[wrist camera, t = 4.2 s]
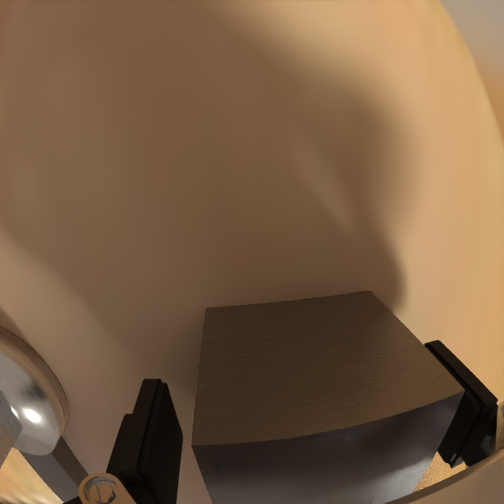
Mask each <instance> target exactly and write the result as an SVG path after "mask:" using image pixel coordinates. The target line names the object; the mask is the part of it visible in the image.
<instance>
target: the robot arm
mask: <svg viewBox="0 0 504 504" xmlns="http://www.w3.org/2000/svg"><path fill="white" fill-rule="evenodd" d="M424 346H425V347H426V348H427V349H428V350H429V351H430V352H431V353H432V354H433V356H434V357H435V358H436V359H437V360H438V361H439V362H440V363H441V364H442V365H443V366H444V367H445V368H446V370H447V371H448V372H449V373H450V374H451V375H452V376H453V377H454V378H455V379H456V381H457V382H458V383H459V384H460V385H461V386H462V387H463V388H464V389H465V392H464V394H463V397H462V399H461V401H460V404H459V406H458V408H457V411H456V413H455V415H454V417H453V419H452V422H451V424H450V426H449V428H448V430H447V432H446V434H445V436H444V438H443V440H442V442H441V444H440V446H439V448H438V450H437V451H438V453H439V454H440V456H441V457H442V459H443V461H444V462H445V463H449V465H450V467H451V468H453V467H455V466H457V465H459V464H461V463H463V461H464V462H465V464H466V467H465V470H463V471H461V472H459V473H457V474H455V475H453V476H451V477H449V478H447V479H445V480H442V481H440V482H438V483H436V484H433V485H431V486H429V487H427V488H424V489H422V490H419V491H417V492H414V493H412V494H409V495H406V496H404V497H401V498H398V499H396V500H393V501H390V502H387V503H384V504H504V401H503V402H502V403H500V405H499V406H498V405H497V404H496V403H497V401H498V399H497V398H496V397H495V396H494V395H493V394H492V393H491V392H490V391H489V390H488V389H487V388H486V386H485V385H484V384H483V383H482V382H481V381H480V380H479V379H478V378H477V377H476V376H475V375H474V374H473V373H472V372H471V371H470V370H469V369H468V368H467V367H466V366H465V365H464V364H463V363H462V362H461V361H460V360H459V359H458V358H457V357H456V356H455V355H454V354H453V353H452V352H451V351H450V350H449V349H448V348H447V347H446V346H445V345H444V344H443V343H442V342H441V341H439V340H436V341H432V342H428V343H425V344H424ZM182 444H183V434H182V430H181V427H180V424H179V421H178V418H177V415H176V412H175V409H174V406H173V402H172V399H171V396H170V392H169V389H168V386H167V383H162V381H161V379H144V380H143V382H142V385H141V388H140V391H139V395H138V398H137V401H136V404H135V407H134V410H133V413H132V414H126V415H125V416H124V418H123V420H122V423H121V426H120V429H119V432H118V435H117V438H116V441H115V445H114V448H113V451H112V454H111V457H110V461H109V464H108V467H107V471H106V473H104V472H102V473H94V474H91V475H89V476H87V477H86V478H85V479H84V480H83V481H82V482H81V484H80V486H79V496H77V497H75V498H73V499H71V500H69V501H67V502H65V503H63V504H176V501H177V491H178V481H179V471H180V461H181V452H182Z"/></svg>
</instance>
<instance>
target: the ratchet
mask: <svg viewBox="0 0 504 504" xmlns="http://www.w3.org/2000/svg"><path fill="white" fill-rule="evenodd" d="M68 418H69V405H68V401H67V398H66V396H65V393H64V391H63V389H62V387H61V385H60V383H59V382H58V380H57V379H56V377H55V375H54V374H53V373H52V371H51V370H50V369H49V367H48V366H47V365H46V364H45V362H44V361H43V360H42V359H41V358H40V357H39V356H38V355H37V354H36V353H35V352H34V351H33V350H32V349H31V348H30V347H29V346H28V345H27V344H25V343H24V342H23V341H22V340H21V339H19V338H18V337H16V336H15V335H14V334H12V333H10V332H9V331H7V330H5V329H3V328H1V327H0V468H1V466H2V465H3V463H4V461H5V459H6V457H7V455H8V454H9V452H10V450H11V448H12V447H14V448H16V449H18V450H19V451H20V452H21V454H22V455H23V456H24V458H25V459H26V460H27V461H28V463H29V464H30V465H31V466H32V468H33V469H34V470H35V471H36V472H37V474H38V475H39V476H40V477H41V478H42V479H43V481H44V482H45V483H46V484H47V485H48V486H49V487H50V488H51V490H52V491H53V492H54V493H55V494H56V495H57V496H58V497H59V498H60V499H61V500H62V501H63V502H64V503H65V502H67V501H69V500H71V499H73V498H75V497H77V496H79V486H80V484H81V482H82V481H83V480H84V479H85V478H86V477H87V476H89V475H88V474H87V473H86V472H85V470H84V469H83V467H82V466H81V465H80V463H79V462H78V461H77V459H76V458H75V456H74V455H73V453H72V452H71V450H70V449H69V447H68V446H67V444H66V443H65V441H64V440H63V438H62V437H61V433H62V431H63V429H64V427H65V425H66V423H67V421H68Z"/></svg>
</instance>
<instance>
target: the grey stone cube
mask: <svg viewBox="0 0 504 504" xmlns="http://www.w3.org/2000/svg"><path fill="white" fill-rule="evenodd" d="M464 392H465V389H464V388H463V387H462V386H461V385H460V384H459V383H458V382H457V381H456V379H455V378H454V377H453V376H452V375H451V374H450V373H449V372H448V371H447V370H446V368H445V367H444V366H443V365H442V364H441V363H440V362H439V361H438V360H437V359H436V358H435V357H434V356H433V354H432V353H431V352H430V351H429V350H428V349H427V348H426V347H425V346H424V345H423V344H422V343H421V342H420V341H419V340H418V339H417V338H416V337H415V336H414V335H413V333H412V332H411V331H410V330H409V329H408V328H407V327H406V326H405V325H404V324H403V323H402V322H401V321H400V320H399V319H398V318H397V317H396V316H395V315H394V314H393V313H392V312H391V311H390V310H389V309H388V308H387V307H386V306H385V305H384V304H383V303H382V302H381V301H380V300H379V299H378V298H377V297H376V296H375V295H374V294H373V293H372V292H371V291H367V292H360V293H352V294H345V295H337V296H329V297H321V298H313V299H304V300H295V301H286V302H276V303H266V304H256V305H245V306H233V307H221V308H209V309H206V316H205V324H204V332H203V340H202V348H201V357H200V365H199V374H198V383H197V392H196V402H195V412H194V422H193V433H192V444H191V446H192V449H193V451H194V454H195V457H196V460H197V463H198V466H199V468H200V471H201V474H202V477H203V479H204V482H205V484H206V487H207V490H208V492H209V495H210V497H211V500H212V502H213V504H384V503H387V502H390V501H393V500H396V499H398V498H401V497H404V496H406V495H409V494H411V493H412V492H413V490H414V489H415V487H416V486H417V484H418V483H419V481H420V479H421V478H422V476H423V474H424V473H425V471H426V469H427V468H428V466H429V464H430V462H431V461H432V459H433V457H434V455H435V453H436V452H437V450H438V448H439V446H440V444H441V442H442V440H443V438H444V436H445V434H446V432H447V430H448V428H449V426H450V424H451V422H452V419H453V417H454V415H455V413H456V411H457V408H458V406H459V404H460V401H461V399H462V397H463V394H464Z"/></svg>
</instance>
